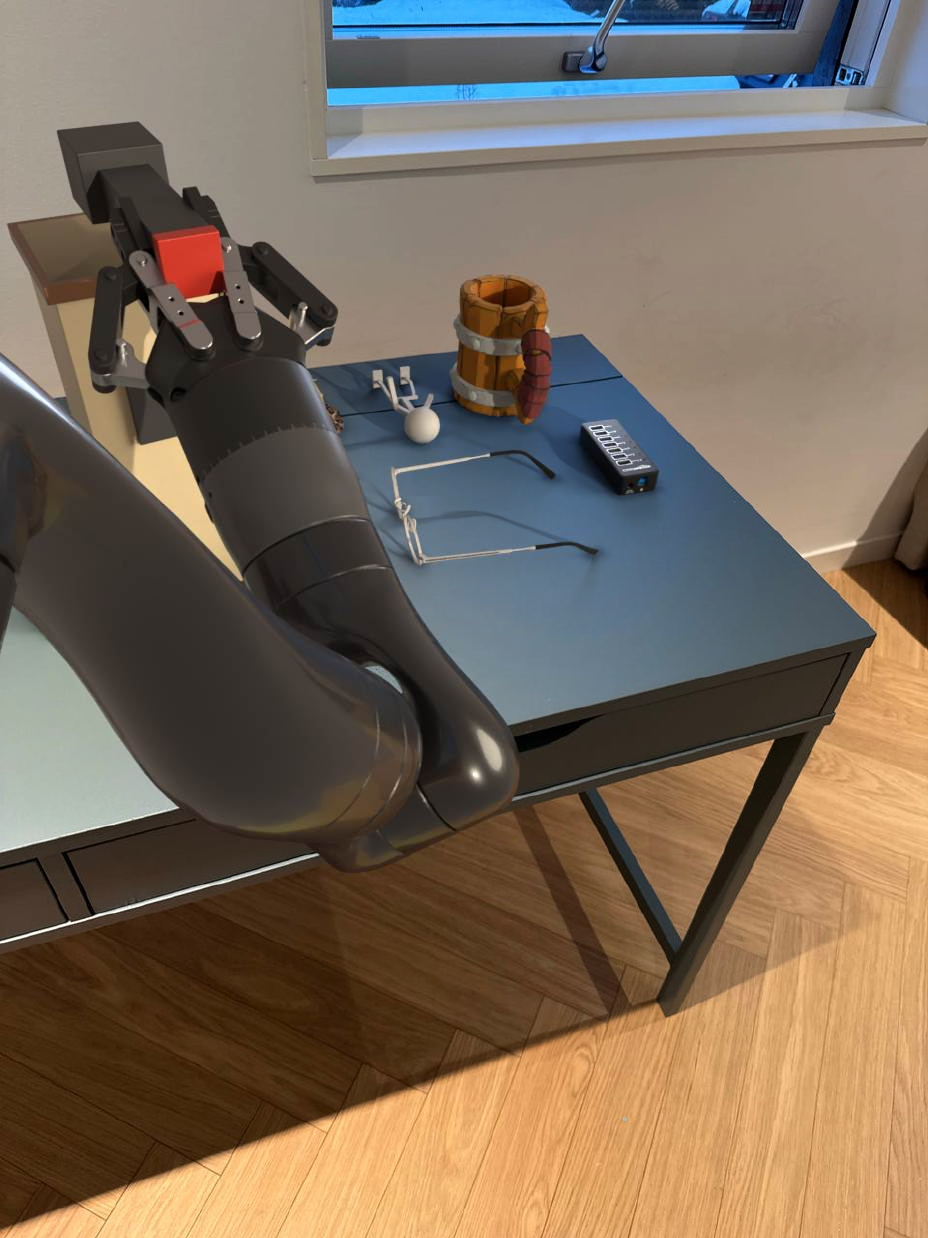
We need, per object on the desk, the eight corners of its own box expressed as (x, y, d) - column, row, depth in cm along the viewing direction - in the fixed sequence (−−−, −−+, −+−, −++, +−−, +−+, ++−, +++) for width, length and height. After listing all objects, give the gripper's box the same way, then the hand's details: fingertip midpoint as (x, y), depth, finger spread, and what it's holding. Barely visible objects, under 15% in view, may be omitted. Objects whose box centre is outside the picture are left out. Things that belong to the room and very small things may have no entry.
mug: (515, 365, 114) (525, 245, 104) (578, 431, 103) (597, 305, 93) (436, 380, 111) (439, 257, 100) (493, 449, 100) (503, 320, 90)
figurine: (417, 340, 107) (458, 393, 96) (418, 389, 111) (457, 444, 100) (366, 346, 106) (402, 400, 95) (369, 395, 109) (403, 453, 98)
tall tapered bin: (141, 631, 77) (43, 288, 57) (105, 551, 85) (6, 222, 64) (274, 588, 82) (228, 256, 61) (228, 516, 89) (173, 199, 69)
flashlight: (151, 306, 47) (134, 224, 44) (73, 200, 57) (55, 129, 55) (244, 288, 49) (233, 209, 46) (152, 189, 59) (138, 120, 56)
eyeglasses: (379, 490, 93) (378, 448, 90) (550, 470, 97) (555, 430, 94) (412, 591, 82) (412, 548, 79) (603, 564, 86) (611, 522, 83)
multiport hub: (613, 435, 103) (616, 417, 101) (656, 489, 96) (660, 471, 94) (577, 440, 102) (580, 422, 100) (618, 496, 94) (622, 477, 93)
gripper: (415, 403, 45) (284, 131, 49) (133, 476, 40) (7, 164, 43) (384, 474, 52) (271, 231, 55) (139, 544, 47) (30, 270, 50)
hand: (156, 203), depth 49 cm, fingers closed on flashlight, 3 cm apart
